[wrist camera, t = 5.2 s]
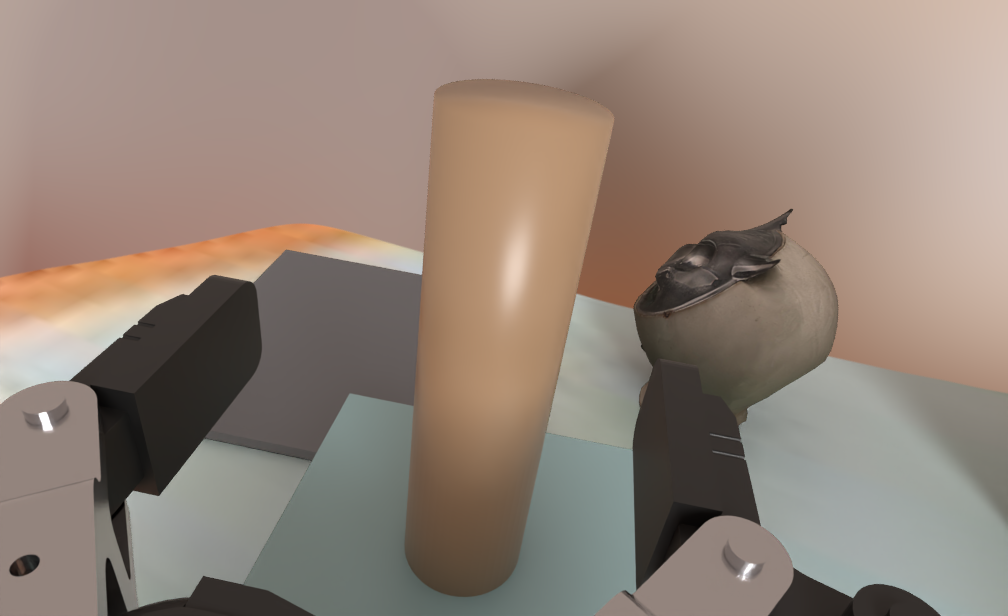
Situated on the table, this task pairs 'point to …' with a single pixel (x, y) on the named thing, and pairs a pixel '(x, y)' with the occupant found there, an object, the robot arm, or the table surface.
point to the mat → (323, 350)
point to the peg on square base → (475, 397)
